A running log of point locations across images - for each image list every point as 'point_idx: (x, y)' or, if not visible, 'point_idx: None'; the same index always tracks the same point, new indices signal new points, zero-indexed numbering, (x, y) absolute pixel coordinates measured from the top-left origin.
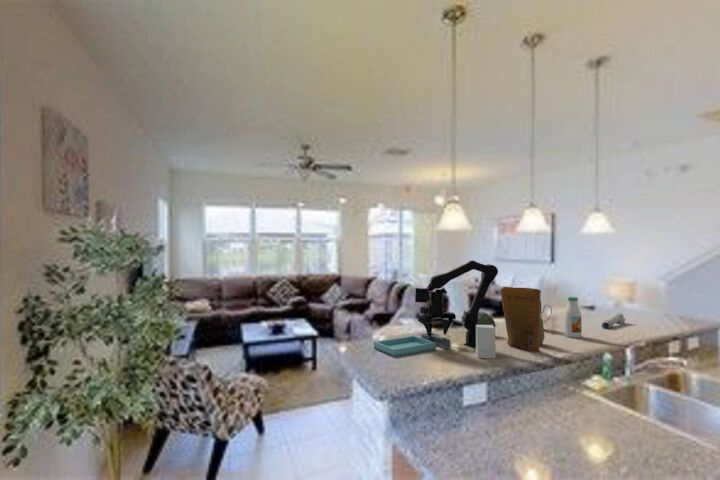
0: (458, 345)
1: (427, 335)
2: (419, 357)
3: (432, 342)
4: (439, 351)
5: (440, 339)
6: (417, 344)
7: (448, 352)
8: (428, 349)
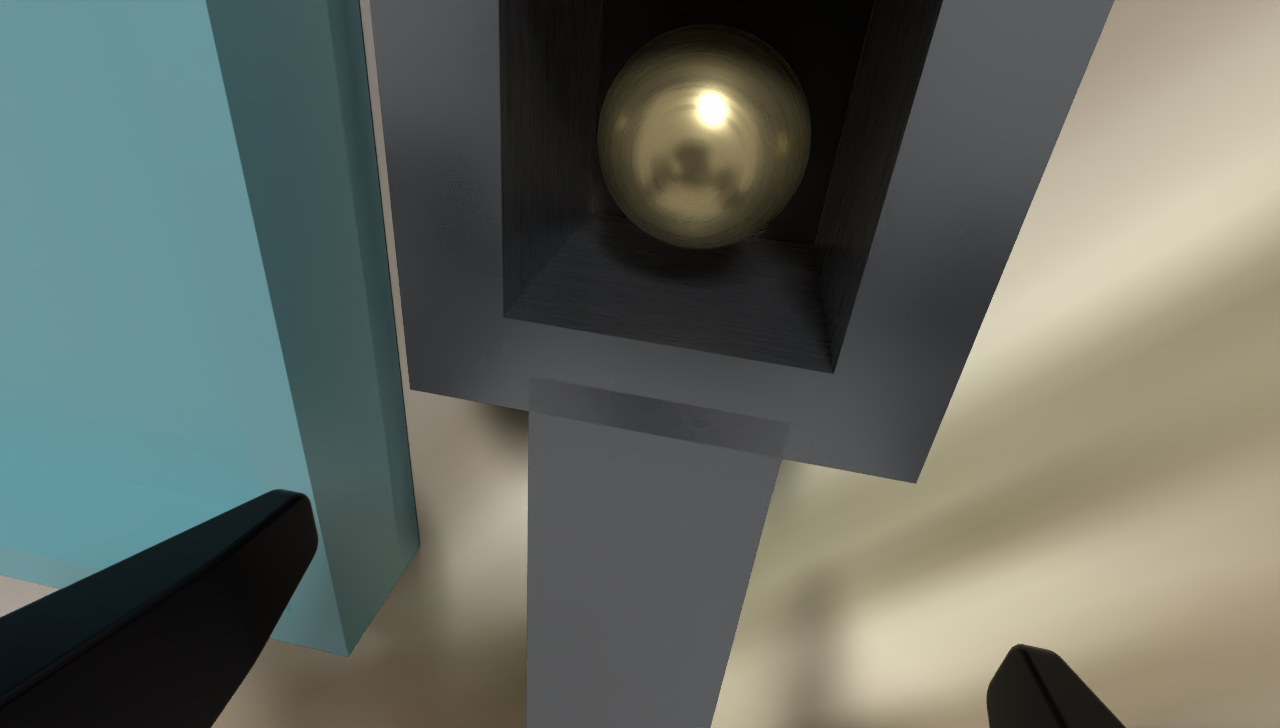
0: None
1: (443, 239)
2: (7, 600)
3: (294, 614)
4: (402, 635)
5: (531, 697)
6: (145, 171)
7: (488, 724)
8: None
